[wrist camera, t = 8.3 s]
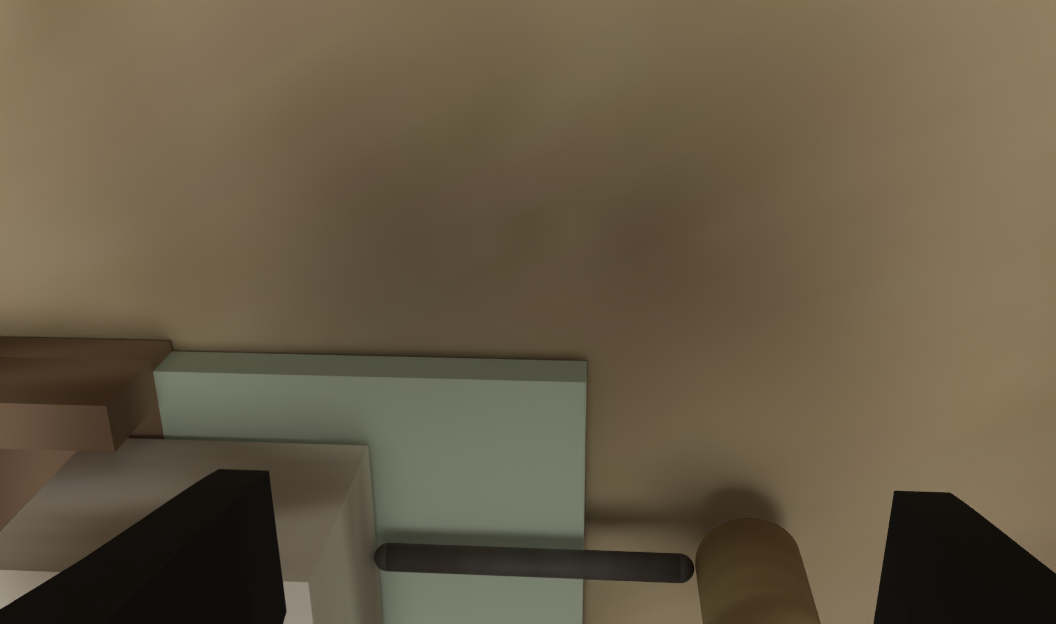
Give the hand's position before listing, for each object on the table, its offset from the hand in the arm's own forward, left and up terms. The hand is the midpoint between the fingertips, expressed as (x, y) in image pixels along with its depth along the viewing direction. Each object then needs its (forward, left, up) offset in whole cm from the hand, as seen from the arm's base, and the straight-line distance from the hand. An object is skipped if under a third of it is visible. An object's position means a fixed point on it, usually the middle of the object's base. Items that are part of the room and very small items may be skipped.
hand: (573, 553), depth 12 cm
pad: (+4, +6, -9) cm, 12 cm away
